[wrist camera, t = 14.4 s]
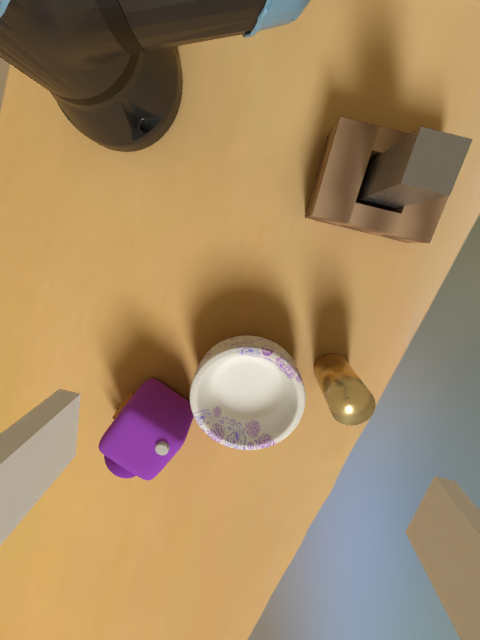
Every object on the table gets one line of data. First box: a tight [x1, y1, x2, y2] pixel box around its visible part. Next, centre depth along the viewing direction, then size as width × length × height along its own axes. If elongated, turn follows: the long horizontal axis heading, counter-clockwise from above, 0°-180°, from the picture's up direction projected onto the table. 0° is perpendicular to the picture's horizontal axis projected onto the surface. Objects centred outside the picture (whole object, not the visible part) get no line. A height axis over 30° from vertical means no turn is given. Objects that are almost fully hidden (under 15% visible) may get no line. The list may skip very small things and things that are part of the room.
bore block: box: [305, 117, 449, 243], centre depth 34 cm, size 14×10×5 cm
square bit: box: [355, 127, 472, 210], centre depth 30 cm, size 4×4×14 cm
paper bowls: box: [190, 335, 306, 450], centre depth 41 cm, size 15×15×8 cm
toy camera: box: [99, 378, 193, 480], centre depth 42 cm, size 11×14×10 cm
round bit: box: [314, 354, 375, 425], centre depth 39 cm, size 5×5×10 cm
